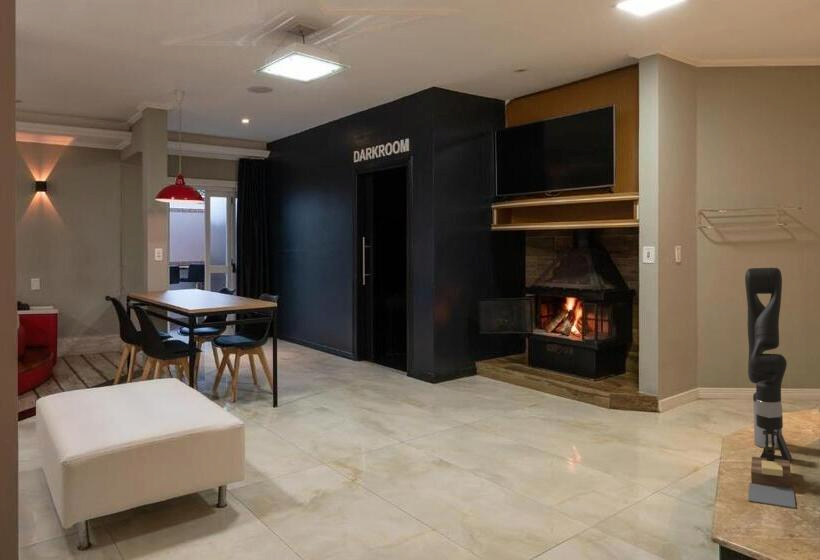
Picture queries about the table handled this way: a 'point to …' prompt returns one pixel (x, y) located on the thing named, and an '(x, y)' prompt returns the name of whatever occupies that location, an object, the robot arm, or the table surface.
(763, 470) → the yellow block
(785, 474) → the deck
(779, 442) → the phone stand
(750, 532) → the table surface
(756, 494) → the mat
